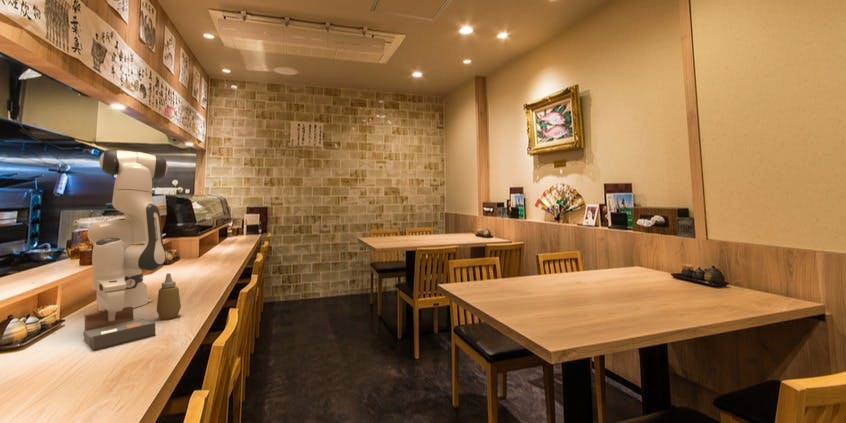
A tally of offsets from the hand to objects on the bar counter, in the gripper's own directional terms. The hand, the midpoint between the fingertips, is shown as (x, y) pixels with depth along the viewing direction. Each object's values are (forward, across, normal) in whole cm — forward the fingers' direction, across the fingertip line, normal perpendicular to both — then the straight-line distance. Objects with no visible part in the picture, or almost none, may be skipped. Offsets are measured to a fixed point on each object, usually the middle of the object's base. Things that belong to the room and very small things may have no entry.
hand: (109, 319), depth 129 cm
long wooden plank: (+3, 0, 0) cm, 3 cm away
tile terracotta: (+2, +16, +3) cm, 16 cm away
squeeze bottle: (+4, +2, +18) cm, 19 cm away
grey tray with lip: (+4, +14, 0) cm, 14 cm away
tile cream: (+2, +17, -4) cm, 17 cm away
